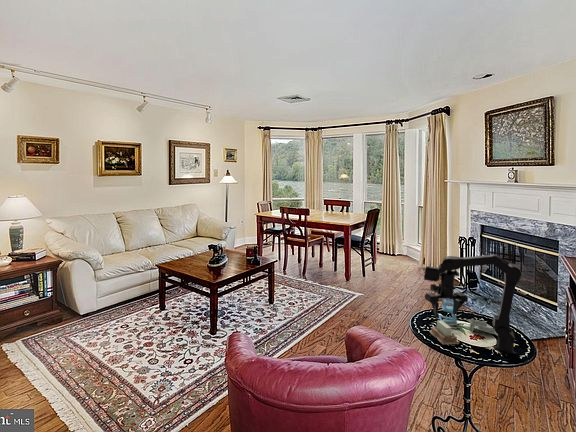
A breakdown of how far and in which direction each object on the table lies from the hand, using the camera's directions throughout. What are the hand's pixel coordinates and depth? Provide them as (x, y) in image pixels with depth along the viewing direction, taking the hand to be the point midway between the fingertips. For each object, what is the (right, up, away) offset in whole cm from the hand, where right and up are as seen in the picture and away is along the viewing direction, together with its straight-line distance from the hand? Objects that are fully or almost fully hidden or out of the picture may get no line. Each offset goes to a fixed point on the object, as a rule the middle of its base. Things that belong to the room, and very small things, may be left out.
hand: (444, 314), depth 165 cm
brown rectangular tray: (0, -12, +2) cm, 12 cm away
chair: (+11, -10, +21) cm, 26 cm away
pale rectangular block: (0, -11, +2) cm, 11 cm away
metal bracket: (+24, -12, +10) cm, 28 cm away
